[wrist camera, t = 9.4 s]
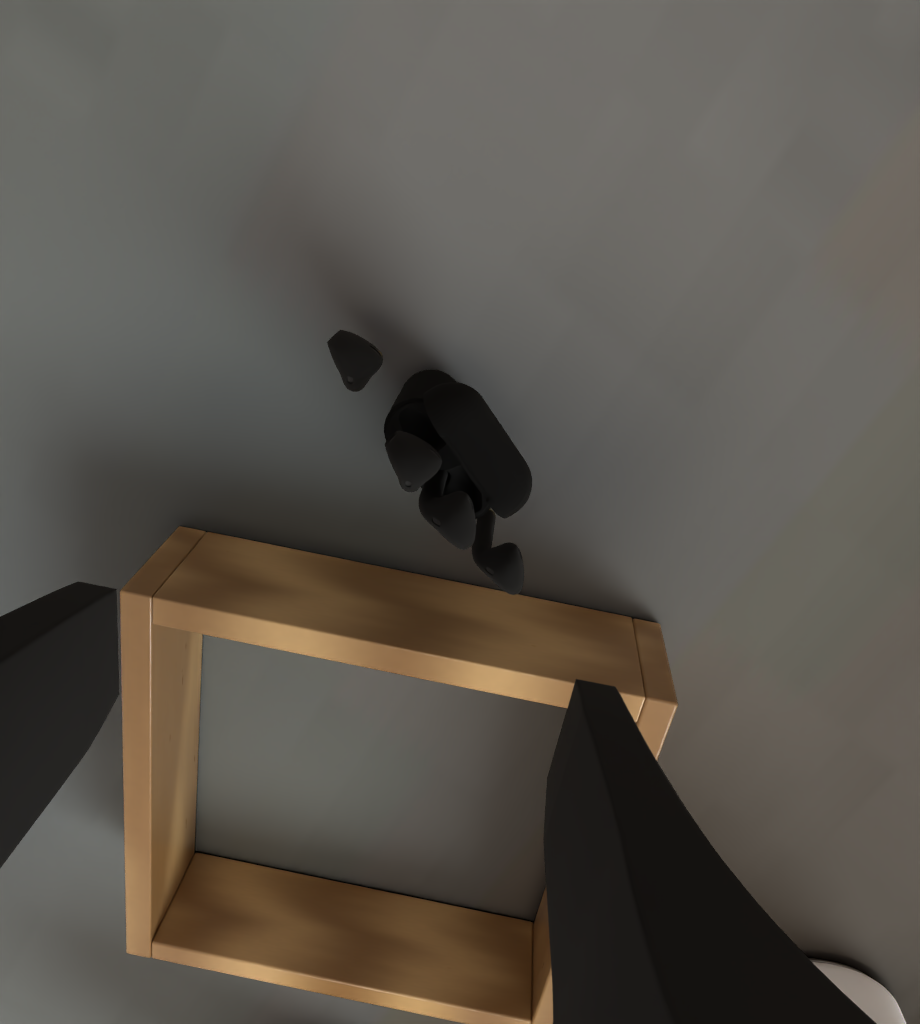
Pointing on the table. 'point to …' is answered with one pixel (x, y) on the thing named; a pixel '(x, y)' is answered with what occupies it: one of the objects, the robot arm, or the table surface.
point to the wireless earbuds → (448, 457)
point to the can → (862, 991)
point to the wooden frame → (368, 643)
